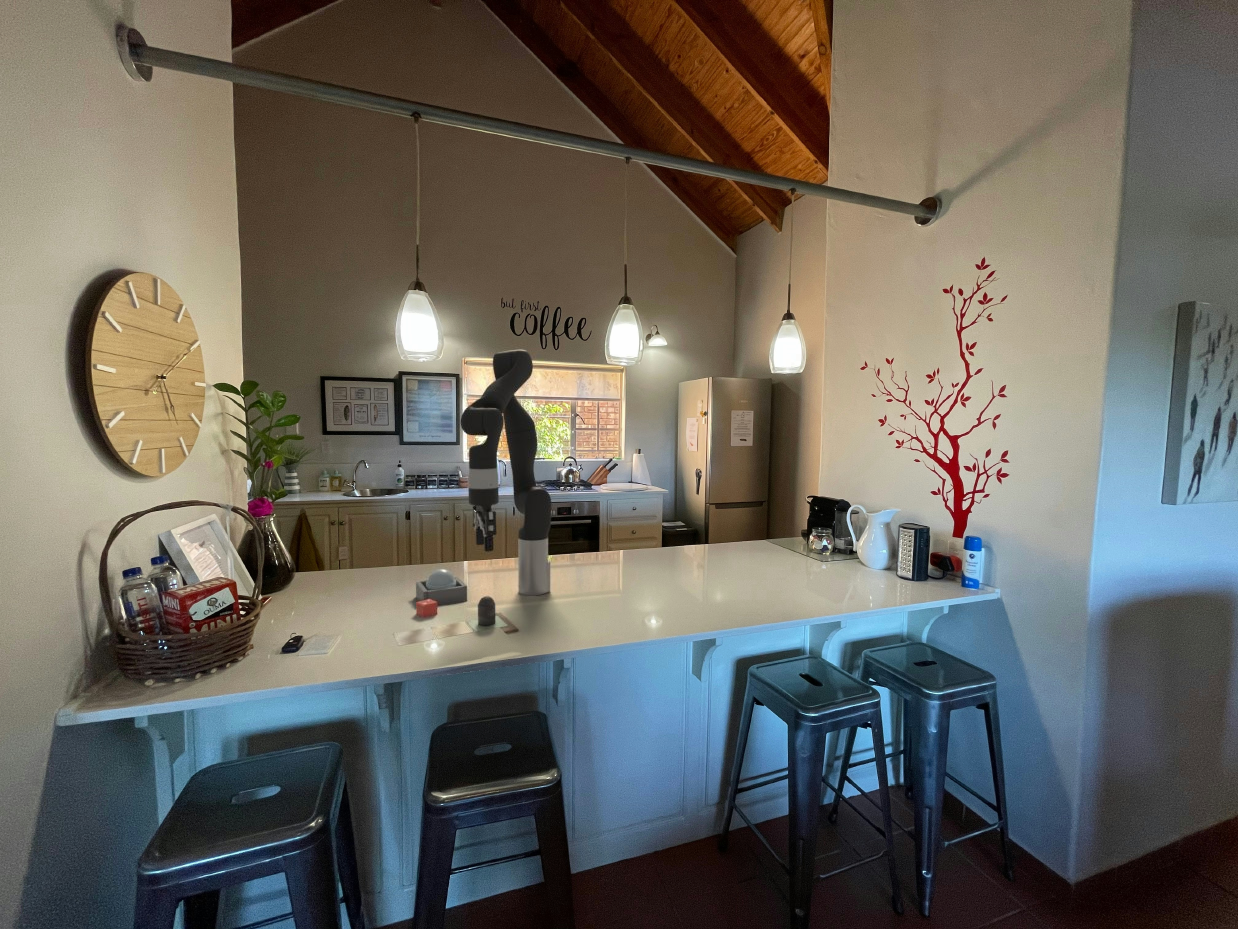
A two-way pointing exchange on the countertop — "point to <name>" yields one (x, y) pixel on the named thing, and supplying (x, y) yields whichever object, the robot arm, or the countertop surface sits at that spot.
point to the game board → (452, 630)
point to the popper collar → (442, 593)
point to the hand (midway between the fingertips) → (484, 547)
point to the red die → (426, 608)
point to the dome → (440, 580)
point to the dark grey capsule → (486, 611)
